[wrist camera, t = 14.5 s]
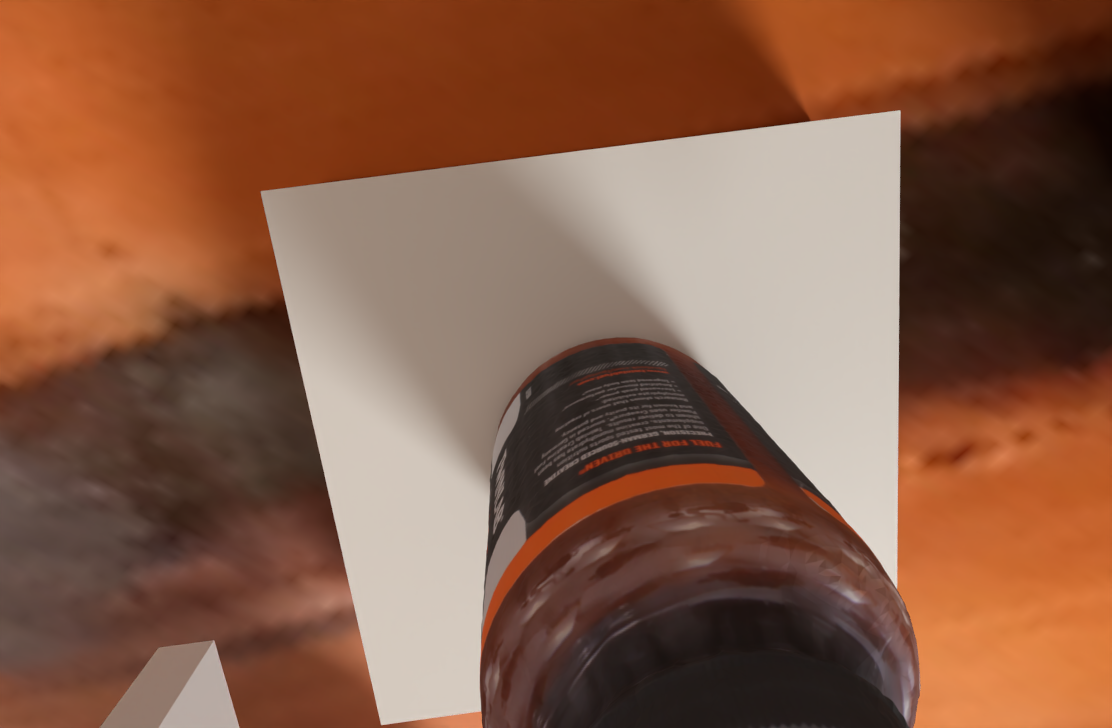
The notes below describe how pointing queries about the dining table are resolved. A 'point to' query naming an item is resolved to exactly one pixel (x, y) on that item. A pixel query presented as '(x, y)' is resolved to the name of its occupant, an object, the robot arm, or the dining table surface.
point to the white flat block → (580, 340)
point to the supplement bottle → (674, 564)
